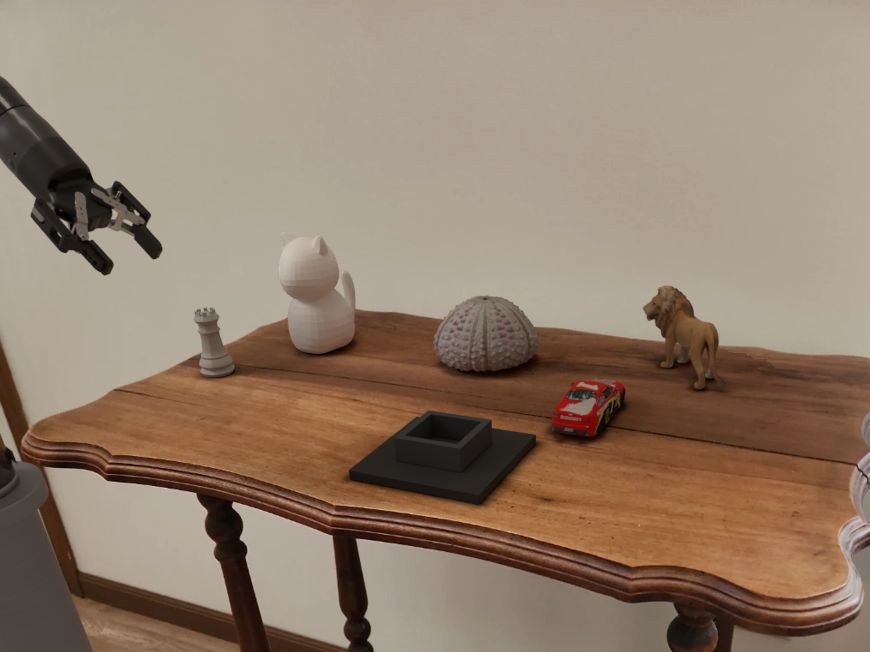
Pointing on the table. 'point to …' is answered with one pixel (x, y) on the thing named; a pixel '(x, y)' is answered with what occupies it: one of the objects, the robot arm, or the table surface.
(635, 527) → the table surface
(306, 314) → the cat figurine
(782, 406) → the table surface
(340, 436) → the table surface
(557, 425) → the race car
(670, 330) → the lion figurine
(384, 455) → the socket pad
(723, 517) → the table surface
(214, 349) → the rook chess piece
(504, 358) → the sea urchin shell
